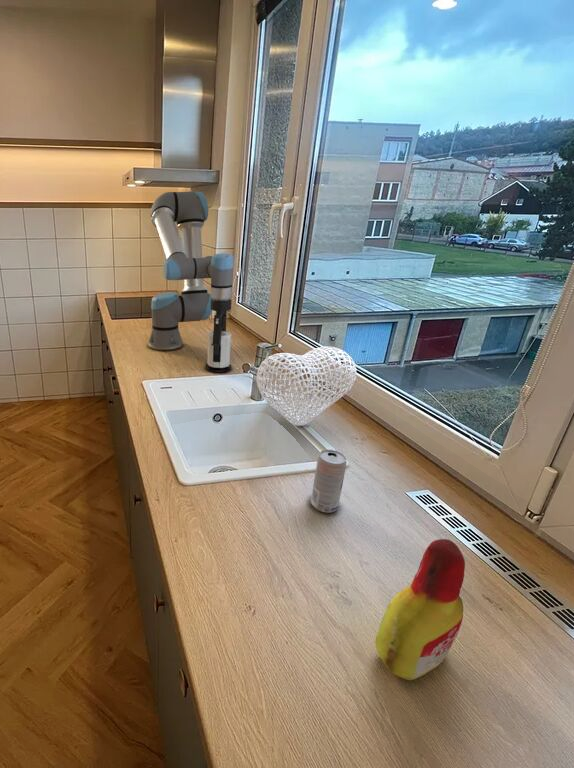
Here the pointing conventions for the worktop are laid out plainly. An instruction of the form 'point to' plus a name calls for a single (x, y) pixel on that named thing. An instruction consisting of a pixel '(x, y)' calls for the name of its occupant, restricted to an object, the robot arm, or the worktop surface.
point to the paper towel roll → (224, 350)
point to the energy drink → (328, 480)
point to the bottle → (424, 614)
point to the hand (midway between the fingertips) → (218, 357)
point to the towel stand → (218, 369)
